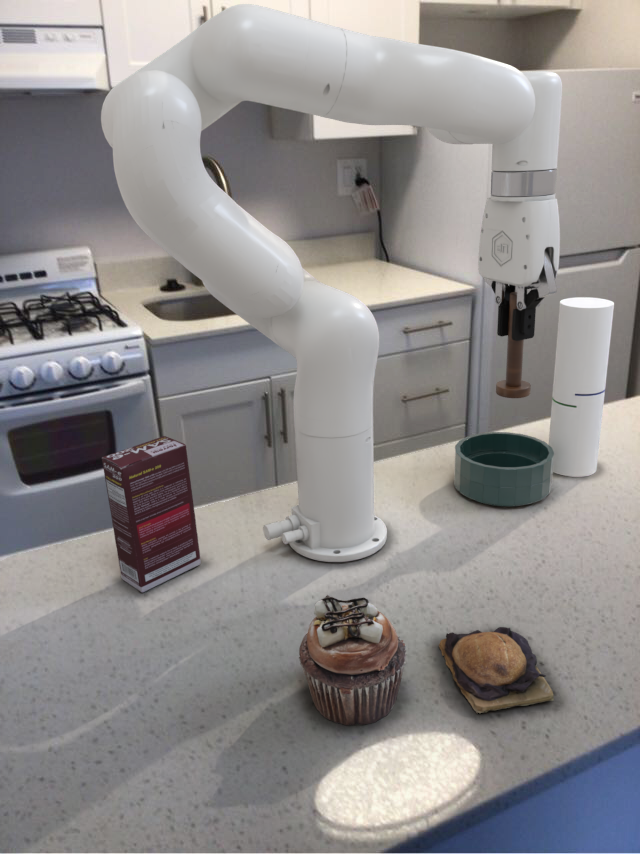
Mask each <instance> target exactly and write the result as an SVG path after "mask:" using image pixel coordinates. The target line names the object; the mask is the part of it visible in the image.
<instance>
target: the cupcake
mask: <svg viewBox="0 0 640 854" xmlns="http://www.w3.org/2000/svg"><path fill="white" fill-rule="evenodd" d="M343 603H344V604H343ZM350 603H351V604H350ZM313 614H314V616H315V617H313V619H312V621H311V622H310V624H309V626H308V629H307V633H305V635H304V636H303V638H302V640H301V643H300V646H299V650H298V651H299V652H298V654H299V656H298V659H299V662H300V663H299V664H300V667H301V668H302V672H303V675H304V676H305V679H306V681H307V685H308V688H309V692H310V696H311V699H312V702H313V703H314V707H315V708H316V710H317V711H318V712H319V713H320V715H321V716H323V718H325V719H327V720H329V721H330V722H331V721H332V722H334V723H335V724H340V725H344V726H356V725H361V726H364V725H369V724H374V723H376V722H377V721H380V720H381V719H383V718H385V717H387V716H388V715H389V713H390V712H391V711H392V710H393V708H394V706H395V705H396V702H397V698H398V694H399V690H400V687H401V681H402V677H403V673H404V669H405V666H406V664H407V663H406V660H407V649H406V648H407V646H406V643H405V642H404V639H401V636H398V633H397V630H396V629H395V627H394V625H393V624H392V623H391V621H390V620H389V618H387V616H386V615H385V614H384V613H382V612H380V611H379V610H378V609H377V607H376V605H374V604H372V603H370V602H369V600H368V598H366V597H357V598H355V597H354V598H351V599H346V600H342V599H338V598H335V597H333V596H330V595H328V594H326V596H325V597H323V598H321V600H318V601H316V603H315V604H314V611H313Z"/></svg>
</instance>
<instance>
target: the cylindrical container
mask: <svg viewBox="0 0 640 854" xmlns="http://www.w3.org/2000/svg"><path fill="white" fill-rule="evenodd" d="M614 308H615V302H614V301H612V300H609V299H605V298H600V297H588V296H587V297H586V296H579V297H578V296H577V297H568V298H564V299H561V300H560V301H559V308H558V309H559V310H558V320H557V322H558V323H557V332H556V333H557V334H556V346H555V357H554V371H553V385H552V395H551V409H550V420H549V421H550V422H549V434H548V445H549V446H551V447H552V449H553V452H554V463H553V474H554V473H555V474H557V475H559V476H560V475H561V476H564V477H571V478H572V477H573V478H583V477H589V476H592V475H594V474H595V473H596V472H597V469H598V460H599V459H598V458H599V450H600V440H601V431H602V423H603V412H604V405H605V404H604V403H605V393H606V385H607V376H608V365H609V356H610V347H611V338H612V329H613V318H614Z"/></svg>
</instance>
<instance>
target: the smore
mask: <svg viewBox="0 0 640 854" xmlns="http://www.w3.org/2000/svg"><path fill="white" fill-rule="evenodd" d="M438 648H439V649H440V651H441V656H444V658H443V659H444V660H445V665H446V666H447V668H448V669H450V672H451V674H452V675H451V676H452V679H453V680H454V682H455V683H456V685H457V687H459V689H460V692H461V693H462V695H463V696H464V697H465V699H467V701H468V703H469V704H470V706H471V707H472V709H473V710H474V711H475V713H476V714H478V713H479V714H481V713H488V712H489V711H494V712H495V711H497V710H502V709H507V708H508V709H509V708H513V707H517V706H519V707H523V706H529V705H534V704H538V703H544V702H550V701H551V702H552V701H555V698H554V692H553V690H552V688H551V687H550V685H549V683H548V682H547V680H546V679H545V677H547V675H546V674H543V673H541V671H540V669H539V667H538V666H537V663H538V660H537V656H536V654H534V653H533V650H532V647H531V645H530V644H529V641H528V639H526V638H525V636H524V635H521V634H519V633H518V632H515V631H513V630H511V627H505V626H499V627H497V628H495V629H494V630H493V631H483V632H482V631H481V630H479V629H477V630H474V631H471V632H469V633H455V632H449V633H448V632H446V635H445V638H443V639H441V640H440V641H439V644H438Z"/></svg>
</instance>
